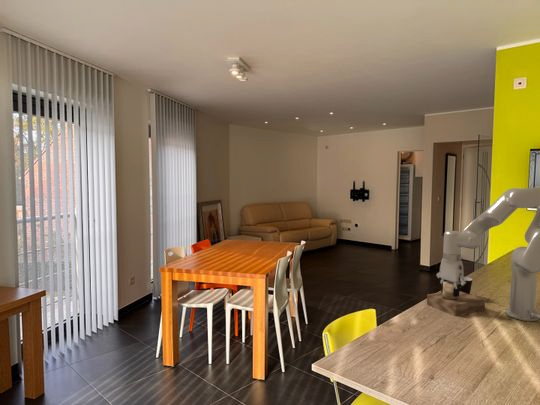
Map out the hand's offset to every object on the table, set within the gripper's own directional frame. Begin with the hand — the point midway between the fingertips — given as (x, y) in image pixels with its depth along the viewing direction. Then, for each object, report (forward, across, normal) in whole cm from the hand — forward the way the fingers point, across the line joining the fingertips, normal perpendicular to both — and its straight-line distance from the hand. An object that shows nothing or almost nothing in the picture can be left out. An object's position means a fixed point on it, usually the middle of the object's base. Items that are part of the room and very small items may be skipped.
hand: (449, 293), depth 175 cm
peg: (+6, 0, 0) cm, 6 cm away
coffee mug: (+7, +10, -22) cm, 25 cm away
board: (+7, 0, -4) cm, 8 cm away
